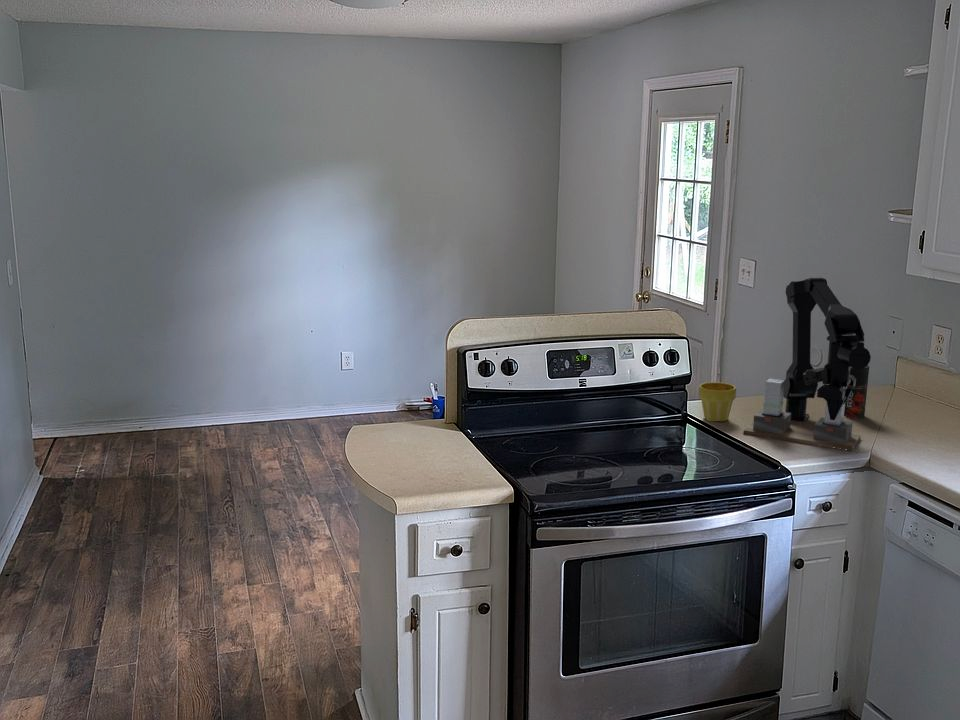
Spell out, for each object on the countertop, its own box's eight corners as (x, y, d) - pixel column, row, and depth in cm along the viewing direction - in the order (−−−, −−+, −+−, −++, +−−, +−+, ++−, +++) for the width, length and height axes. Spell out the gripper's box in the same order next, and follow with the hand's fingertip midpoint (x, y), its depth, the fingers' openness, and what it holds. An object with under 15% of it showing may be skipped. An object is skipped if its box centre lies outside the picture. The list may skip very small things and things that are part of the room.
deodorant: (866, 414, 271) (871, 365, 268) (862, 419, 267) (867, 368, 263) (845, 411, 275) (849, 362, 271) (840, 416, 270) (845, 366, 266)
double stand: (755, 423, 263) (757, 406, 262) (860, 439, 248) (861, 421, 247) (743, 433, 253) (744, 416, 252) (851, 451, 239) (853, 432, 237)
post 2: (826, 433, 249) (828, 400, 247) (842, 435, 247) (845, 402, 245) (822, 437, 246) (825, 404, 244) (839, 440, 243) (842, 406, 241)
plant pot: (690, 418, 267) (692, 386, 265) (710, 411, 274) (711, 379, 272) (721, 426, 260) (723, 392, 258) (741, 419, 267) (743, 386, 265)
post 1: (767, 410, 257) (769, 378, 254) (782, 412, 254) (785, 380, 252) (763, 414, 253) (765, 381, 251) (778, 416, 251) (781, 383, 249)
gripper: (815, 350, 254) (811, 405, 257) (798, 363, 238) (794, 421, 242) (858, 355, 248) (853, 411, 251) (844, 368, 232) (838, 428, 236)
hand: (834, 417), depth 245 cm, fingers closed on post 2, 4 cm apart
